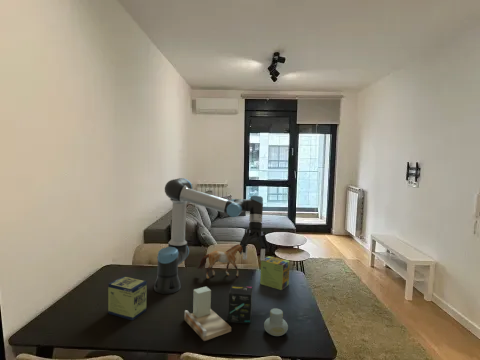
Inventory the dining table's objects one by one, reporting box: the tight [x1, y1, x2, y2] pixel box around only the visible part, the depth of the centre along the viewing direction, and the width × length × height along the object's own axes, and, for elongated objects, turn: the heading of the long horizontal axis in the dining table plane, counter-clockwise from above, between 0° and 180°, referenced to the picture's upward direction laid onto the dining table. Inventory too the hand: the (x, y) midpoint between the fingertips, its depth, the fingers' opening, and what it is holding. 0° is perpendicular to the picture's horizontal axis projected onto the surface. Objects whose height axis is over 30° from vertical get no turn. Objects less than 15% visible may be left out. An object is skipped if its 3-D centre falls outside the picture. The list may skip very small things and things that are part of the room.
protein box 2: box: [259, 256, 291, 291], centre depth 189 cm, size 10×15×16 cm
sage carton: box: [192, 286, 212, 318], centre depth 148 cm, size 5×7×12 cm
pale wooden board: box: [184, 309, 232, 342], centre depth 142 cm, size 20×14×4 cm
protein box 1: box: [107, 276, 148, 321], centre depth 151 cm, size 10×16×16 cm
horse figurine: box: [196, 243, 243, 279], centre depth 199 cm, size 31×8×21 cm, turn 102°
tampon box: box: [227, 285, 253, 324], centre depth 149 cm, size 11×9×15 cm
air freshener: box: [263, 307, 289, 337], centre depth 138 cm, size 11×8×10 cm
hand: (253, 259), depth 170 cm, fingers open, 13 cm apart
